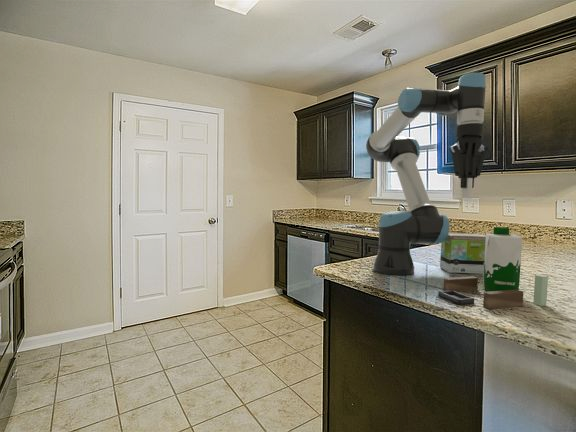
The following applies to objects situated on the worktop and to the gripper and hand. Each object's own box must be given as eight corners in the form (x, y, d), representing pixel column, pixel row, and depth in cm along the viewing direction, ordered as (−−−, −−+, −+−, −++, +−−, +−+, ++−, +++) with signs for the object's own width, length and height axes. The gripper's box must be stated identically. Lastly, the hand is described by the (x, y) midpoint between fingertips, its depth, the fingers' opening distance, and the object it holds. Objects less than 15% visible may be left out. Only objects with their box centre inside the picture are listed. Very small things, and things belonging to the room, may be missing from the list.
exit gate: (482, 286, 107) (483, 262, 107) (487, 286, 108) (488, 262, 107) (540, 305, 89) (542, 276, 88) (546, 305, 89) (548, 276, 89)
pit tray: (438, 296, 96) (438, 291, 96) (452, 295, 98) (452, 290, 97) (458, 305, 89) (459, 299, 88) (474, 303, 90) (474, 298, 90)
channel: (443, 290, 102) (443, 278, 102) (472, 288, 105) (473, 276, 105) (489, 309, 86) (490, 294, 85) (522, 306, 88) (523, 291, 88)
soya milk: (512, 291, 102) (515, 227, 101) (523, 300, 93) (526, 230, 92) (480, 288, 105) (483, 226, 103) (487, 297, 96) (491, 229, 95)
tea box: (449, 273, 125) (451, 235, 124) (439, 267, 135) (440, 232, 134) (490, 274, 124) (492, 235, 123) (477, 268, 134) (479, 232, 133)
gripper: (460, 121, 100) (457, 198, 102) (496, 123, 103) (493, 198, 104) (444, 125, 107) (441, 198, 109) (478, 127, 110) (475, 198, 112)
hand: (466, 198), depth 107 cm, fingers closed
